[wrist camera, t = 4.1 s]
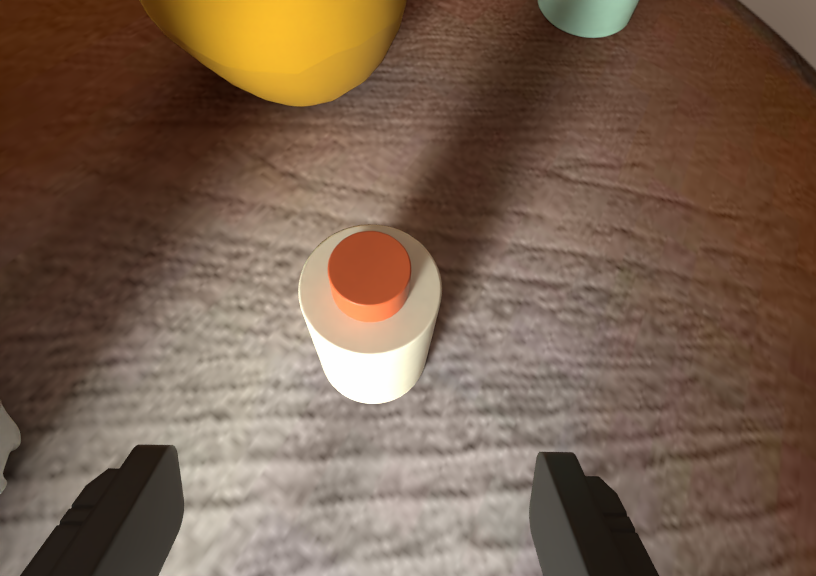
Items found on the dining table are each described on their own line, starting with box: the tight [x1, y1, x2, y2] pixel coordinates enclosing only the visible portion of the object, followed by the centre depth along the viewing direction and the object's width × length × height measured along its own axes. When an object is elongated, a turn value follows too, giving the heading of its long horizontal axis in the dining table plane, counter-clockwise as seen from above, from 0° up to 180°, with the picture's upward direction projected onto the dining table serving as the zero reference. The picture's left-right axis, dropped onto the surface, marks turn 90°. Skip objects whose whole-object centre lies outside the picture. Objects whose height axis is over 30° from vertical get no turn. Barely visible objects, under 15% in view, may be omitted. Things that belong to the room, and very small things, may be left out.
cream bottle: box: [298, 224, 442, 404], centre depth 22 cm, size 5×5×9 cm
